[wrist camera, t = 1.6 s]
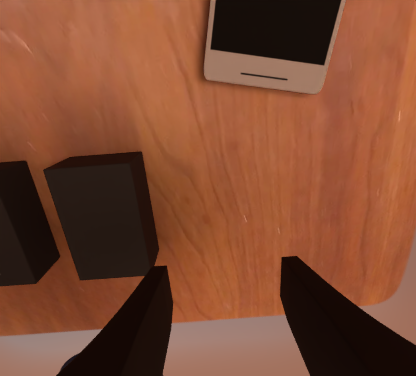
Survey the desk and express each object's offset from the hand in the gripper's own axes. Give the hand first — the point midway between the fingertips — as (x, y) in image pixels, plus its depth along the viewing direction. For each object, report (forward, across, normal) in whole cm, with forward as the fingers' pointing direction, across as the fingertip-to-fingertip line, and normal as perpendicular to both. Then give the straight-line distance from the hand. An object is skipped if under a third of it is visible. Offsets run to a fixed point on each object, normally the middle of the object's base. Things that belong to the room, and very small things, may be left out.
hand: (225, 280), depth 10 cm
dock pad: (+8, +15, 0) cm, 17 cm away
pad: (+8, +7, 0) cm, 11 cm away
